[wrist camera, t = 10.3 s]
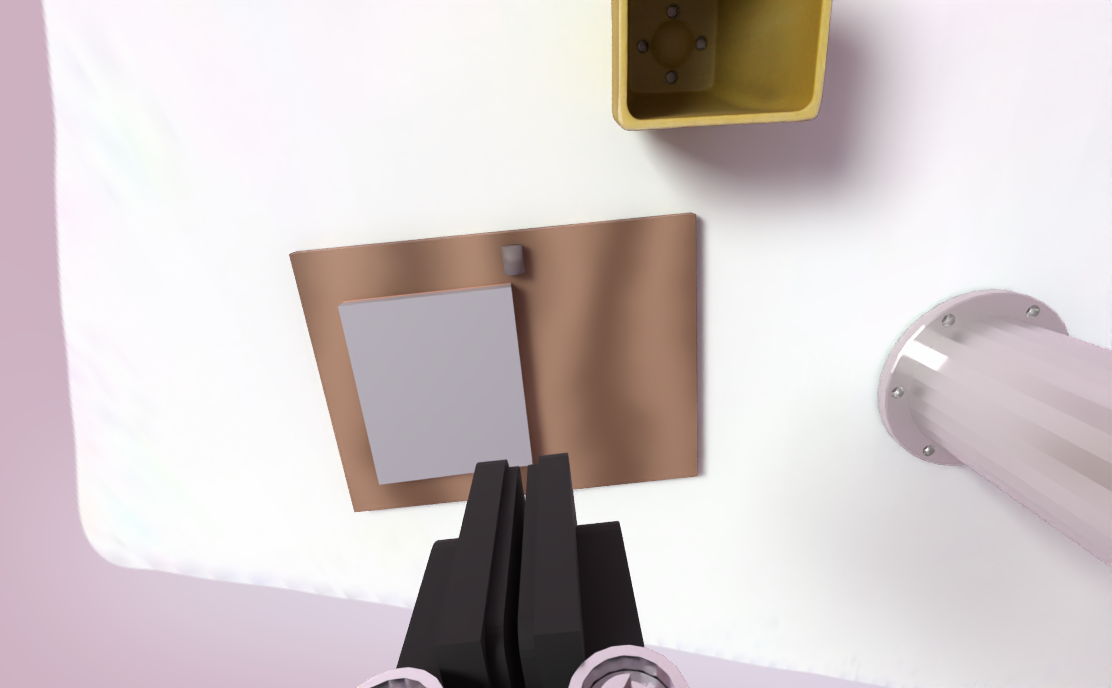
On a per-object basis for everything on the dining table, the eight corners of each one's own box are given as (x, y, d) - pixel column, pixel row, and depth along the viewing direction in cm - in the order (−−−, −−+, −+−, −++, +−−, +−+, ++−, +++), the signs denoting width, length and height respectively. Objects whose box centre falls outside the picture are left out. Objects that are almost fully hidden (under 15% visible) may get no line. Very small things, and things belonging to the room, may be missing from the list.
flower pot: (744, 129, 32) (822, 120, 23) (595, 137, 32) (619, 131, 23) (754, -49, 29) (847, -133, 20) (590, -41, 29) (615, -124, 20)
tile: (337, 306, 31) (343, 301, 33) (379, 484, 35) (382, 474, 36) (511, 287, 32) (510, 282, 33) (532, 465, 36) (531, 455, 37)
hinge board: (690, 212, 33) (701, 216, 31) (693, 468, 39) (702, 485, 37) (296, 251, 33) (280, 257, 31) (358, 503, 39) (349, 523, 37)
